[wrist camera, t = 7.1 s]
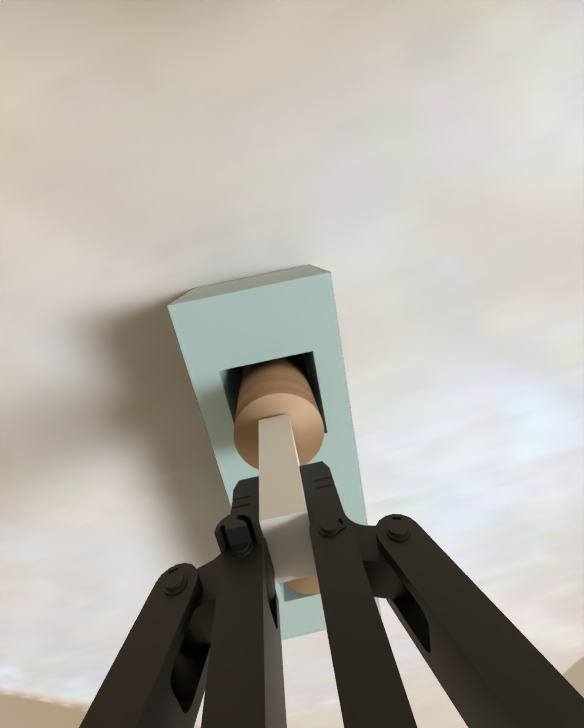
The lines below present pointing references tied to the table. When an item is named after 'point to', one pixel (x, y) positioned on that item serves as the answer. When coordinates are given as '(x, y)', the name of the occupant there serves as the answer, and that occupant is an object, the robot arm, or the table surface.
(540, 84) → the table surface
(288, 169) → the table surface
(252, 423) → the peg
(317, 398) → the socket board
